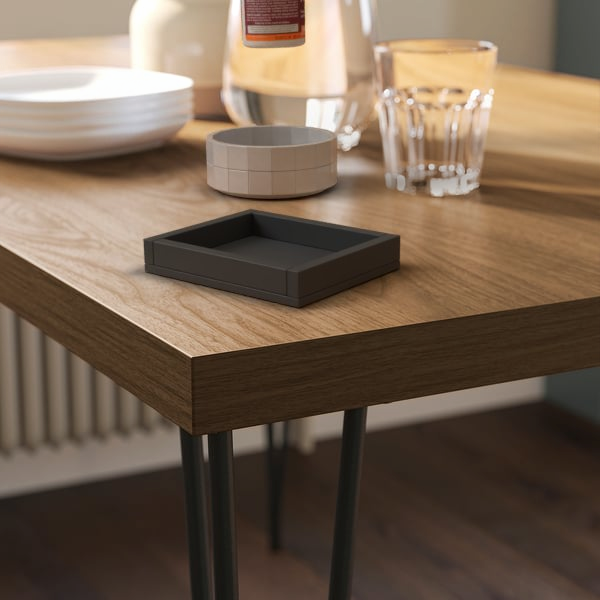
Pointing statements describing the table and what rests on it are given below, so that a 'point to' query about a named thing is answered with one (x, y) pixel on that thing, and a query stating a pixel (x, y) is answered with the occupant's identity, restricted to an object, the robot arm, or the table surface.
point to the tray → (273, 256)
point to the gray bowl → (271, 161)
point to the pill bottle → (273, 23)
